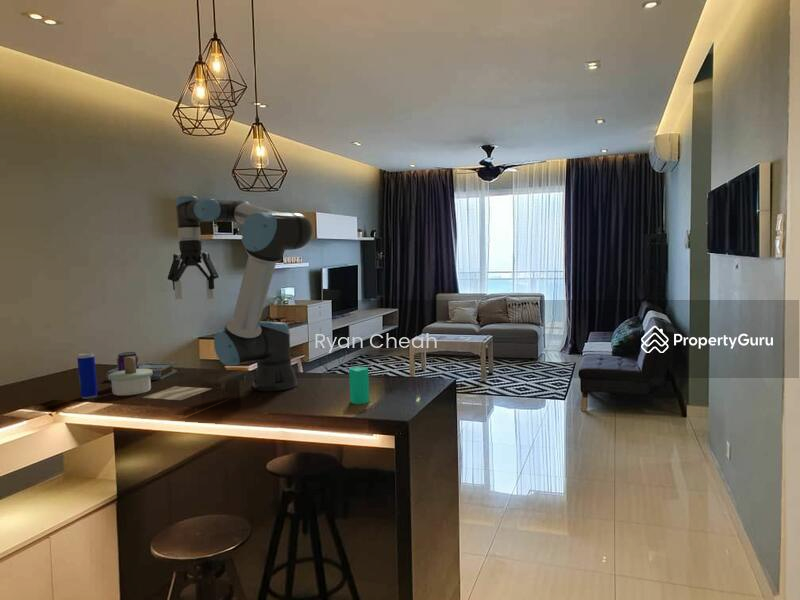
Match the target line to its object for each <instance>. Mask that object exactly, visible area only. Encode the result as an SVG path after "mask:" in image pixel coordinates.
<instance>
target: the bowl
mask: <svg viewBox="0 0 800 600" xmlns="http://www.w3.org/2000/svg"><path fill="white" fill-rule="evenodd" d="M151 381H152V380H150V376H149V377H145V378H141V379H135V380H125V381H113V380H111V381H110V382H111V392H112V395H115V396H133V395H139V394H143V393H146V392H149V391H151V388H152V384H151V383H152V382H151Z"/></svg>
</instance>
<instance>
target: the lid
mask: <svg viewBox="0 0 800 600" xmlns="http://www.w3.org/2000/svg"><path fill="white" fill-rule="evenodd" d="M124 367H125V370H123V371H118V372H114V373H111V374H109V375H108V377H109V380H113V381H125V380H135V379H141V378H145V377H149V376H151V375H152V374H153V372H152V370H151V369H136V361H135V356H129V357H124Z"/></svg>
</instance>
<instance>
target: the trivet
mask: <svg viewBox="0 0 800 600" xmlns="http://www.w3.org/2000/svg"><path fill="white" fill-rule="evenodd" d="M212 389H213V388H208V387H189V386H178V385H177V386H176V385H175V386H172V387H170V388H166V389H163V390H160V391H158V392H157V391H156V392H154V393H151V394H148V395H145V396H142V397H141V398H142V399H156V400H157V399H158V400H171V401H183V400H185V399H189V398H191V397H194V396H197V395H199V394H202V393H204V392H208V391H210V390H212Z"/></svg>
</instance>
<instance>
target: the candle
mask: <svg viewBox="0 0 800 600" xmlns="http://www.w3.org/2000/svg"><path fill="white" fill-rule="evenodd" d="M369 374H370V373H369V367H368V366H360V365H359V363H358V364H357V366H351V367H349V368H348V376H349V394H350V395H349V398H350V399H349V400H350V403H351V404H354V405H355V404H356V405H361V404H363V405H364V404H367V403H369V402H370V382H369V381H370V380H369V379H370V378H369V377H370V376H369Z"/></svg>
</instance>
